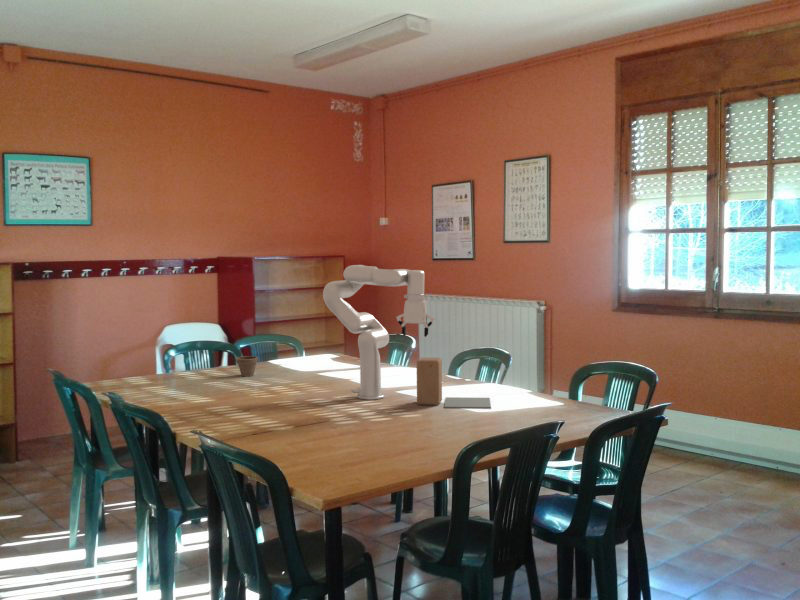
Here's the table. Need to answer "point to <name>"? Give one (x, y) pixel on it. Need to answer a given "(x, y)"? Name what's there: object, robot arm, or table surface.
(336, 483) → the table surface
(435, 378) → the wooden block
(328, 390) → the table surface
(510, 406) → the table surface
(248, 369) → the flower pot
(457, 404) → the mat
